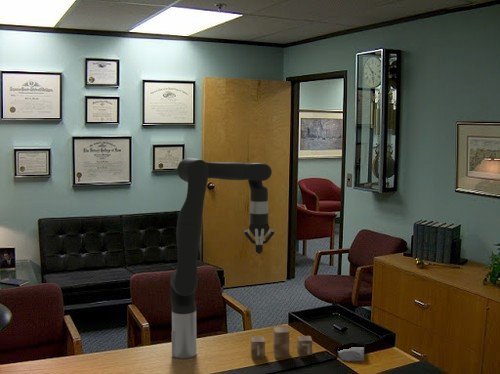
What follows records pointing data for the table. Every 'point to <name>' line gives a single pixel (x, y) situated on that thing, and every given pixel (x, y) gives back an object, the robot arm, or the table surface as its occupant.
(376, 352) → the table surface
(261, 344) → the block one
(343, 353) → the stone block
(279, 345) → the plain pillar
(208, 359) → the table surface
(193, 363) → the table surface
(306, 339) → the block seven
